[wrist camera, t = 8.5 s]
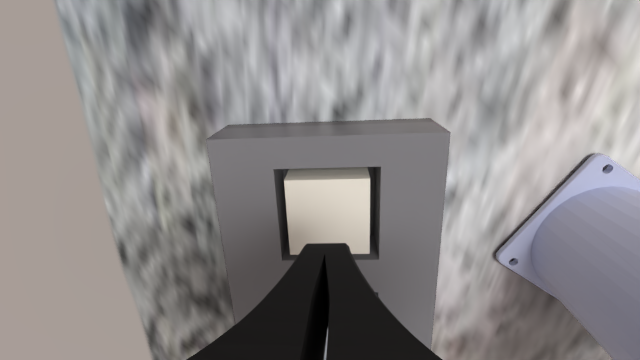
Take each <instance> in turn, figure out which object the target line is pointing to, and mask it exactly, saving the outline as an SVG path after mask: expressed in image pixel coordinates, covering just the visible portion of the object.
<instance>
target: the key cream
mask: <svg viewBox="0 0 640 360" xmlns="http://www.w3.org/2000/svg"><path fill="white" fill-rule="evenodd" d="M284 187H285V199H286V211H287V223H288V235H289V247H290V255H299V253H300V252H301V250H302V249H303V247H304V246H305V245H306V244H307V243H346V244H347V245H348V246H349V248H350V251H351V253H352V254H370V176H369V172H368V168H367V167H341V168H301V169H289V170H288V172H287V175H286V177H285V179H284Z"/></svg>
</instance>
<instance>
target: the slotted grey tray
mask: <svg viewBox="0 0 640 360" xmlns="http://www.w3.org/2000/svg"><path fill="white" fill-rule="evenodd" d="M449 143H450V132H449V131H448V130H446V129H445V128H443V127H442V126H441V125H439V124H438V123H436V122H435V121H433V120H432V119H430V118H426V119H396V120H365V121H335V122H305V123H274V124H244V125H228V126H226V127H225V128H223V129H222V130H220V131H219V132H217V133H215V134H214V135H212V136H211V137H209V138H208V139H206V144H207V151H208V157H209V163H210V169H211V176H212V182H213V188H214V194H215V201H216V207H217V213H218V219H219V226H220V232H221V238H222V244H223V251H224V257H225V263H226V269H227V276H228V282H229V288H230V294H231V301H232V307H233V313H234V319H235V325H236V324H237V323H238V322H239V321H241V320H242V319H243V318H244V317H245V316H246V315H247V314H248V313H249V312H250V311H252V310H253V309H254V308H255V307H256V306H257V305H258V304H259V303H260V302H261V301H262V300H263V299H264V297H265V296H266V295H267V294H268V293H269V292H270V291H271V290H272V289H273V287H274V286H275V285H276V284H277V283H278V282H279V280H280V279H281V278H282V277H283V275H284V274H285V273H286V272H287V270H288V269H289V268H290V266H291V265H292V264H293V262H294V261H295V259H296V258H297V256H298V255H290V247H289V235H288V223H287V211H286V199H285V187H284V179H285V177H286V175H287V172H288V170H289V169H301V168H341V167H367V168H368V172H369V176H370V254H352V256H353V258H354V260H355V262H356V264H357V266H358V267H359V269H360V271H361V272H362V274H363V275H364V277H365V279H366V280H367V282H368V283H369V285H370V286H371V288H372V289H373V290H374V292H375V293H376V294H377V296H378V297H379V298H380V300H381V301H382V302H383V303H384V305H385V306H386V307H387V308H388V309H389V310H390V312H391V313H392V314H393V315H394V316H395V317H396V318H397V319H398V320H399V321H400V323H401V324H402V325H403V326H405V327H406V328H407V329H408V330H409V331H410V332H411V333H412V334H413V335H414V336H415V337H416V338H417V339H418V340H419V341H421V342H422V343H423V344H424V345H425V346H426V347H427V348H429V349H430V350H431V342H432V331H433V320H434V309H435V298H436V287H437V276H438V265H439V254H440V243H441V232H442V221H443V210H444V198H445V187H446V176H447V165H448V154H449Z"/></svg>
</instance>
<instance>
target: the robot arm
mask: <svg viewBox="0 0 640 360" xmlns="http://www.w3.org/2000/svg"><path fill="white" fill-rule="evenodd" d="M606 165H607V168H606V170H604V171H602V169H603V167H604V166H606ZM496 258H497V260H498V261H499V262H500V263H501V264H503V265H504V266H506V267H507V268H509V269H511V270H512V271H514V272H515V273H517V274H518V275H520V276H522V277H523V278H525V279H526V280H528V281H530V282H531V283H533V284H534V285H536V286H537V287H539V288H541V289H542V290H544V291H545V292H547V293H548V294H550V295H552V296H553V297H555V298H556V299H558V300H560V301H561V302H562V304H563V305H564V306H565V307H566V308H567V309H568V310H569V311H570V312H571V313H572V315H573V316H574V317H575V318H576V319H577V320H578V321H579V322H580V323H581V325H582V326H583V327H584V328H585V329H586V330H587V331H588V332H589V333H590V334H591V336H592V337H593V338H594V339H595V340H596V341H597V342H598V343H599V344H600V346H601V347H602V348H603V349H604V350H605V351H606V352H607V353H608V354H609V355H610V357H611V358H612V359H613V360H640V180H639V179H638V178H636V177H635V176H634V175H632V174H631V173H630V172H628V171H627V170H626V169H624V168H623V167H622V166H620V165H619V164H618V163H616V162H615V161H613V160H612V159H611V158H609V157H608V156H606V155H603V154H601V153H597V154H594V155H592V156H591V157H589V158H588V159H587V160H586V161H585V162H584V164H583V165H582V166H581V167H580V168H579V169H578V170H577V171H576V172H575V173H574V174H573V175H572V176H571V177H570V178H569V179H568V180H567V181H566V182H565V183H564V184H563V185H562V186H561V187H560V188H559V189H558V190H557V191H556V192H555V193H554V194H553V195H552V196H551V197H550V198H549V199H548V200H547V201H546V202H545V203H544V204H543V205H542V206H541V207H540V208H539V209H538V210H537V211H536V212H535V214H534V215H533V216H532V217H531V218H530V219H529V220H528V221H527V222H526V223H525V224H524V225H523V226H522V227H521V228H520V229H519V230H518V231H517V232H516V233H515V234H514V235H513V236H512V237H511V238H510V239H509V240H508V241H507V242H506V243H505V244H504V245H503V246H502V247H501V248H500V249H499V250H498V252H497V253H496ZM512 258H515V259H514V260H513V261H512V262H509V261H510V260H511V259H512ZM327 329H328V341H327V354H326V360H442V359H441V358H439V357H438V356H437V355H436V354H434V353H433V352H432V351H431V350H430V349H429V348H427V347H426V346H425V345H424V344H423V343H422V342H421V341H419V340H418V339H417V338H416V337H415V336H414V335H413V334H412V333H411V332H410V331H409V330H408V329H407V328H406V327H405V326H403V325H402V324H401V323H400V321H399V320H398V319H397V318H396V317H395V316H394V315H393V314H392V313H391V312H390V310H389V309H388V308H387V307H386V306H385V305H384V303H383V302H382V301H381V300H380V298H379V297H378V296H377V294H376V293H375V292H374V290H373V289H372V288H371V286H370V285H369V283H368V282H367V280H366V279H365V277H364V275H363V274H362V272H361V271H360V269H359V267H358V266H357V264H356V262H355V260H354V258H353V256H352V253H351V251H350V248H349V246H348V245H347V244H346V243H307V244H306V245H305V246H304V247H303V249H302V250H301V252H300V253H299V255H298V256H297V258H296V259H295V261H294V262H293V264H292V265H291V266H290V268H289V269H288V270H287V272H286V273H285V274H284V275H283V277H282V278H281V279H280V280H279V282H278V283H277V284H276V285H275V286H274V287H273V289H272V290H271V291H270V292H269V293H268V294H267V295H266V296H265V297H264V299H263V300H262V301H261V302H260V303H259V304H258V305H257V306H256V307H255V308H254V309H253V310H252V311H250V312H249V313H248V314H247V315H246V316H245V317H244V318H243V319H242V320H241V321H239V322H238V323H237V324H236V325H234V326H233V327H232V328H231V329H229V330H228V331H227V332H225V333H224V334H223V335H221V336H220V337H219V338H218V339H216V340H215V341H214V342H212V343H211V344H209V345H208V346H207V347H205V348H204V349H202V350H201V351H199V352H198V353H196V354H195V355H193V356H191V357H190V358H188V359H187V360H324V354H325V346H326V338H327Z"/></svg>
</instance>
